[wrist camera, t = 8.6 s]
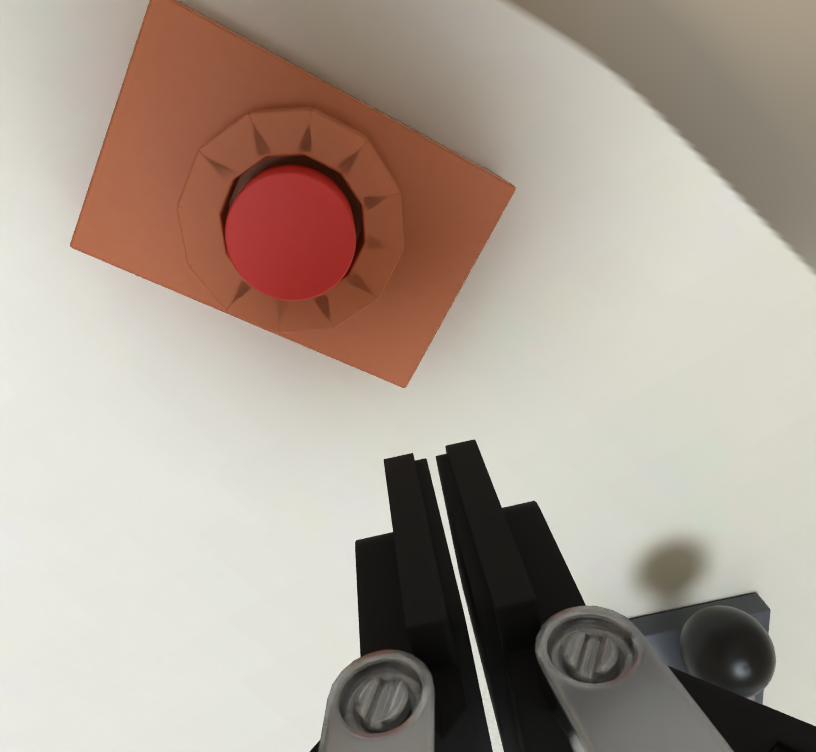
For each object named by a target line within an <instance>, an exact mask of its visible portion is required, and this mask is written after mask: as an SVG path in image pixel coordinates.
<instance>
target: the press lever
mask: <svg viewBox="0 0 816 752" xmlns="http://www.w3.org/2000/svg"><path fill="white" fill-rule="evenodd" d="M679 649H680V655H681V659H682V662H683V664H684V667H685V668H686V670H687V672H688V674H689V675H692V676H694V677H697V678H699V679H702V680H704V681H706V682H709V683H711V684H714V685H716V686H718V687H721V688H723V689H726V690H728V691H731V692H733V693H735V694H738V695H740V696H743V697H745V698H748V699H750V700H752V701H755V697H754V695H756V694H758V693H759V692H761V691H762V690H763V689H764V688H765V687H766V686H767V685H768V683H769V682H770V680H771V678H772V677H773V674H774V670H775V665H776V656H775V650H774V646H773V643H772V641H771V638H770V637H769V635H768V633H767V631H766V630H765V629H764V627H763V626H762V625H761V624H760V623H759V622H758V621H757V620H756V619H755V618H753V617H752V616H751V615H749V614H747V613H746V612H744V611H742V610H739V609H737V608H734V607H730V606H722V605H717V606H710V607H706V608H703V609H701V610H699V611H697V612H696V613H694V614H693V615H692V616H691V617H690V618H689V619H688V620H687V622H686V623H685V625H684V627H683V629H682V632H681V635H680V641H679ZM755 702H756V701H755Z"/></svg>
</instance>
